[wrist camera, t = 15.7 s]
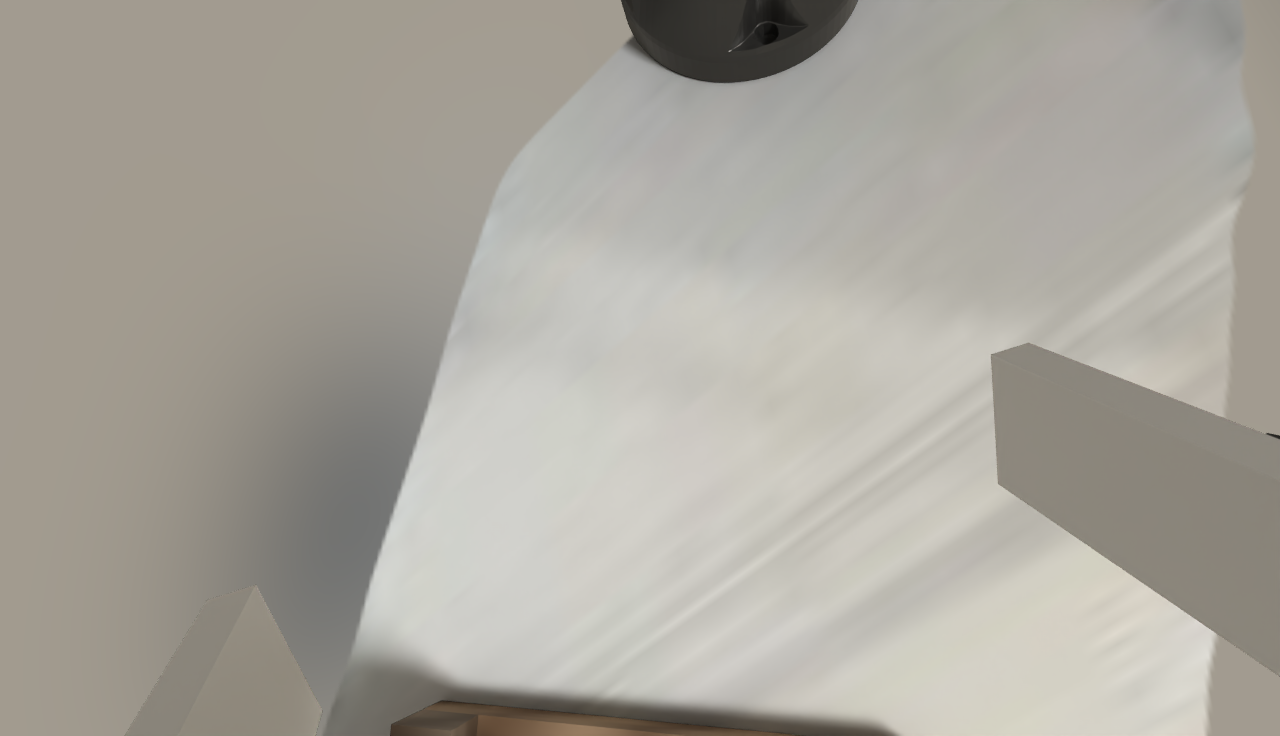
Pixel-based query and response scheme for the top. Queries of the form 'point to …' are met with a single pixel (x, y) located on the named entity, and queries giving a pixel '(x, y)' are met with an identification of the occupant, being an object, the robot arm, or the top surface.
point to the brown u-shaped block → (541, 724)
